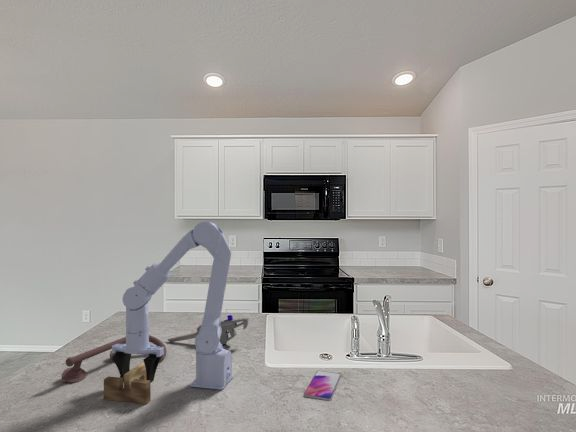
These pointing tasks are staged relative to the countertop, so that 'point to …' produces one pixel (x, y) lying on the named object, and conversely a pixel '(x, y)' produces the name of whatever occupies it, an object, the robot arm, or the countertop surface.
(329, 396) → the smartphone
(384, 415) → the countertop surface
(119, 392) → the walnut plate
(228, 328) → the toy gun
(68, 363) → the toilet paper hanger
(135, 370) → the light wooden block
